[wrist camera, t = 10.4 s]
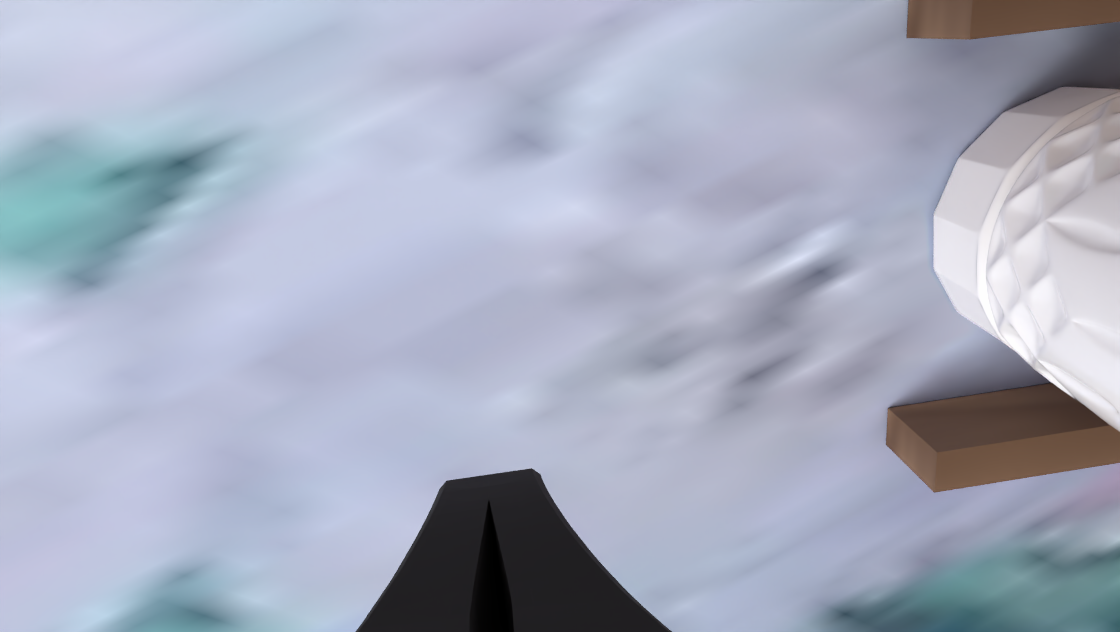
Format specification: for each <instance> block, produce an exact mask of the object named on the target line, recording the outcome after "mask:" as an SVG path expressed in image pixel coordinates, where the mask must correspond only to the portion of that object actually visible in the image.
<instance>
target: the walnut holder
mask: <svg viewBox="0 0 1120 632" xmlns="http://www.w3.org/2000/svg"><path fill="white" fill-rule="evenodd" d="M1111 22H1120V0H909V1H908V21H907V38H932V39H977V38H985V37H994V36H1002V35H1011V34H1019V33H1027V32H1036V31H1044V30H1052V29H1061V28H1069V27H1078V26H1086V25H1094V24H1103V23H1111ZM886 445H887V446H888V447H889V448H890V449H891V450H892V451H893V452H894V453H895V454H896V455H897V456H898V457H899V458H900V459H901V460H902V461H903V462H904V463H905V464H906V465H907V466H908V467H909V468H910V469H911V470H912V471H913V472H914V473H915V474H916V475H917V476H918V477H919V478H920V479H921V480H922V481H923V482H924V483H925V484H926V485H927V486H928V487H929V488H930V489H931V490H932V491H933V492H940V491H946V490H953V489H959V488H965V487H971V486H978V485H984V484H990V483H996V482H1002V481H1009V480H1015V479H1021V478H1027V477H1033V476H1040V475H1046V474H1052V473H1058V472H1064V471H1071V470H1077V469H1083V468H1089V467H1095V466H1102V465H1108V464H1114V463H1120V432H1119V431H1117V430H1116V429H1115V428H1113V427H1112V426H1110V425H1109V424H1108V423H1106V422H1105V421H1104V420H1102V419H1101V418H1100V417H1099V416H1097V415H1096V414H1095V413H1093V412H1092V411H1091V410H1090V409H1088V408H1087V407H1086V406H1084V405H1083V404H1082V403H1080V402H1078V401H1077V400H1075V399H1074V398H1072V397H1071V396H1070V395H1068V394H1067V393H1065V392H1064V391H1062V390H1061V389H1060V388H1058V387H1057V386H1056V385H1054V384H1053V383H1049V384H1042V385H1036V386H1029V387H1023V388H1016V389H1010V390H1003V391H997V392H990V393H983V394H977V395H970V396H964V397H957V398H951V399H944V400H938V401H931V402H925V403H918V404H911V405H905V406H898V407H892V408H888V417H887V437H886Z"/></svg>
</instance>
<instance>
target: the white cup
mask: <svg viewBox="0 0 1120 632" xmlns="http://www.w3.org/2000/svg"><path fill="white" fill-rule="evenodd" d="M933 268H934V271H935V273H936V275H937V276H938V278H939V280H940V282H941V284H942V286H943V287H944V289H945V291H946V293H947V295H948V297H949V298H950V300H951V302H952V304H953V306H954V308H955V309H956V311H957V312H958V313H959V314H961V315H962V316H963V317H965V318H966V319H968V320H969V321H971V322H973V323H974V324H976V325H977V326H979V327H980V328H982V329H983V330H985V331H986V332H988V333H989V334H991V335H992V336H994V337H995V338H997V339H999V340H1000V341H1002V342H1003V343H1004V344H1006V345H1007V346H1008V347H1010V348H1011V349H1012V350H1014V351H1015V352H1017V353H1018V354H1019V355H1020V356H1021V357H1022V358H1023V359H1024V360H1025V361H1026V362H1027V363H1028V364H1029V365H1030V366H1031V367H1032V368H1033V369H1034V370H1035V371H1037V372H1039V373H1040V374H1041V375H1042V376H1044V377H1045V378H1046V379H1048V380H1049V381H1050V382H1052V383H1053V384H1054V385H1056V386H1057V387H1058V388H1060V389H1061V390H1062V391H1064V392H1065V393H1067V394H1068V395H1070V396H1071V397H1072V398H1074V399H1075V400H1077V401H1078V402H1080V403H1082V404H1083V405H1084V406H1086V407H1087V408H1088V409H1090V410H1091V411H1092V412H1093V413H1095V414H1096V415H1097V416H1099V417H1100V418H1101V419H1102V420H1104V421H1105V422H1106V423H1108V424H1109V425H1110V426H1112V427H1113V428H1115V429H1116V430H1117V431H1119V432H1120V89H1106V88H1085V87H1060V88H1057V89H1055V90H1053V91H1051V92H1048V93H1046V94H1044V95H1041V96H1039V97H1037V98H1035V99H1032V100H1030V101H1028V102H1025V103H1023V104H1021V105H1018V106H1016V107H1014V108H1012V109H1009V110H1007V111H1005V112H1003V113H1002V114H1001V115H1000V116H999V117H998V118H997V119H996V120H995V121H994V122H993V123H992V124H991V125H990V126H989V127H988V128H987V129H986V130H985V131H984V132H983V133H982V134H981V135H980V136H979V137H978V138H977V139H976V140H975V141H974V142H973V143H972V144H971V145H970V146H969V147H968V148H967V150H966V151H965V152H964V153H963V154H962V155H961V156H960V157H959V158H958V159H957V162H956V164H955V166H954V168H953V171H952V173H951V175H950V178H949V180H948V182H947V184H946V187H945V189H944V191H943V194H942V196H941V198H940V200H939V203H938V205H937V207H936V210H935V212H934V215H933Z"/></svg>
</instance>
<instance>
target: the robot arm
mask: <svg viewBox="0 0 1120 632" xmlns="http://www.w3.org/2000/svg"><path fill="white" fill-rule="evenodd" d="M356 632H672V631H670V630H669V629H668V628H667V627H665V626H664V625H663V624H662V623H661V622H660V621H659V620H658V619H656V618H655V617H654V616H653V615H652V614H651V613H650V612H648V611H647V610H646V609H645V608H644V607H643V606H642V605H641V604H640V603H639V602H638V601H637V600H635V599H634V598H633V597H632V596H631V595H630V594H629V593H628V592H627V591H626V590H625V589H624V588H623V587H622V586H621V585H620V584H619V582H618V581H617V580H616V579H615V578H614V577H613V576H612V575H611V574H610V573H609V572H608V571H607V570H606V569H605V567H604V566H603V565H602V564H601V563H600V562H599V561H598V559H597V558H596V557H595V556H594V555H593V554H592V553H591V551H590V550H589V549H588V548H587V546H586V545H585V544H584V542H583V541H582V540H581V539H580V537H579V536H578V535H577V534H576V532H575V531H574V530H573V529H572V527H571V526H570V525H569V523H568V522H567V520H566V519H565V518H564V516H563V515H562V513H561V512H560V510H559V509H558V507H557V506H556V504H555V503H554V501H553V499H552V498H551V496H550V494H549V492H548V491H547V489H546V487H545V485H544V483H543V480H542V478H541V475H540V474H539V473H538V472H536V471H535V470H534V469H525V470H518V471H511V472H504V473H497V474H490V475H483V476H476V477H470V478H463V479H456V480H449V481H446V482H445V483H444V484H443V486H442V487H441V488H440V489H439V492H438V494H437V497H436V499H435V501H434V503H433V506H432V508H431V510H430V512H429V514H428V516H427V518H426V520H425V522H424V524H423V526H422V528H421V530H420V531H419V533H418V535H417V537H416V539H415V541H414V542H413V544H412V546H411V548H410V549H409V551H408V553H407V554H406V556H405V558H404V560H403V561H402V563H401V565H400V566H399V568H398V570H397V572H396V573H395V575H394V577H393V578H392V580H391V581H390V583H389V584H388V586H387V587H386V589H385V590H384V592H383V593H382V595H381V596H380V598H379V599H378V601H377V602H376V604H375V605H374V607H373V608H372V609H371V611H370V612H369V614H368V615H367V617H366V618H365V620H364V621H363V623H362V624H361V625H360V627H359V628H358V629H357V631H356Z"/></svg>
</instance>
